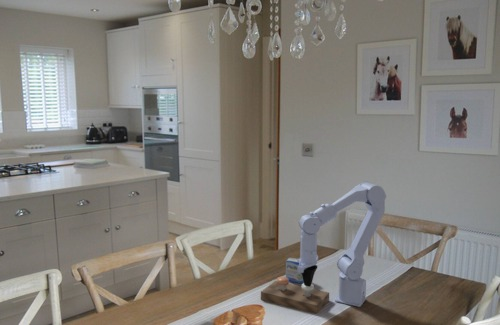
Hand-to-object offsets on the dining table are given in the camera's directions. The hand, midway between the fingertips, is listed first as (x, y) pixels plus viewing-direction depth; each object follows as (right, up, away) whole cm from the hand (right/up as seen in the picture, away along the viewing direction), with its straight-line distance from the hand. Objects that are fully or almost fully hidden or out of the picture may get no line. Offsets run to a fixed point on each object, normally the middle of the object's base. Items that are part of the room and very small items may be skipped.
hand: (307, 285), depth 157 cm
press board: (-4, -6, +3) cm, 8 cm away
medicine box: (-2, -4, +21) cm, 22 cm away
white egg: (0, -4, +1) cm, 4 cm away
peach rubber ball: (-9, -3, +5) cm, 11 cm away
